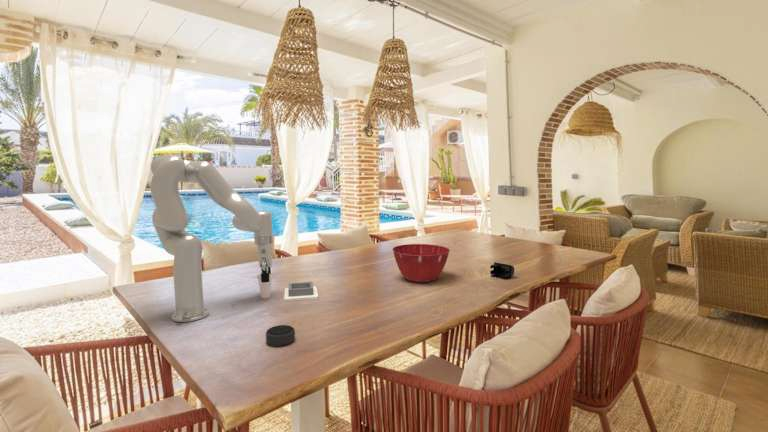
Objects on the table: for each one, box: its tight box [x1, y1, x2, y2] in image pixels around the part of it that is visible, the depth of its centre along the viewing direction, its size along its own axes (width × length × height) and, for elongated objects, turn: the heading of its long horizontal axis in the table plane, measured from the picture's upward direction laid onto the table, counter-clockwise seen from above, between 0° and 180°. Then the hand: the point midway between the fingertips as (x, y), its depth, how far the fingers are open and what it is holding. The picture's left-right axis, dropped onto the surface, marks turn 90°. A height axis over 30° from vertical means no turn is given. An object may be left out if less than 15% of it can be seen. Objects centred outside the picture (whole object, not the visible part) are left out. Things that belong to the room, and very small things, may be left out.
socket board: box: [283, 281, 319, 302], centre depth 178 cm, size 16×14×4 cm
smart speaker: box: [265, 324, 296, 347], centre depth 129 cm, size 9×9×4 cm
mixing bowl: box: [392, 243, 451, 284], centre depth 201 cm, size 28×28×15 cm
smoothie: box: [256, 273, 273, 299], centre depth 174 cm, size 6×6×14 cm
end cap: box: [489, 262, 515, 281], centre depth 204 cm, size 10×7×7 cm
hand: (266, 279), depth 174 cm, fingers open, 9 cm apart
